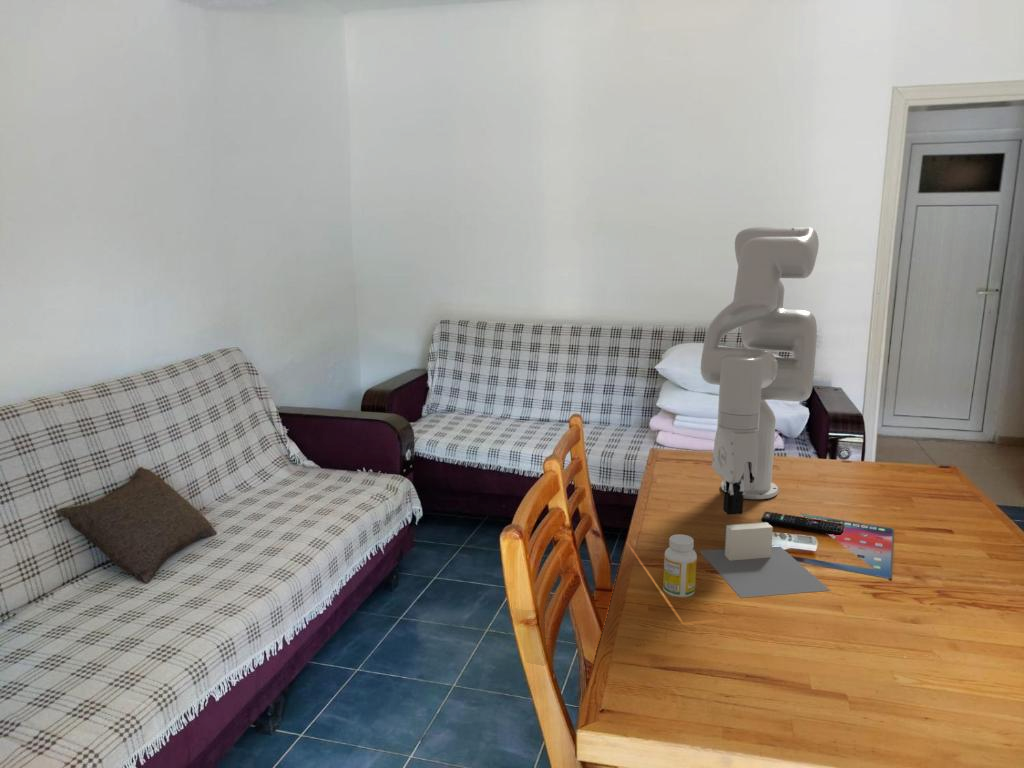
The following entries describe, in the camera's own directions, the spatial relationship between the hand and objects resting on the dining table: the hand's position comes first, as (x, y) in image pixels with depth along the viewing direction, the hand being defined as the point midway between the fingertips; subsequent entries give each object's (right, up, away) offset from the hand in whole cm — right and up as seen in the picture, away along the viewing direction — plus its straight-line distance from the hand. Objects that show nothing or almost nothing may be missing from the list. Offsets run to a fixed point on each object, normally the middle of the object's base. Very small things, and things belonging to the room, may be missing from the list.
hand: (732, 512), depth 144 cm
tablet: (+21, -7, +1) cm, 22 cm away
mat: (+2, -9, -10) cm, 14 cm away
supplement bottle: (-14, -11, -17) cm, 24 cm away
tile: (+1, -7, -5) cm, 9 cm away
